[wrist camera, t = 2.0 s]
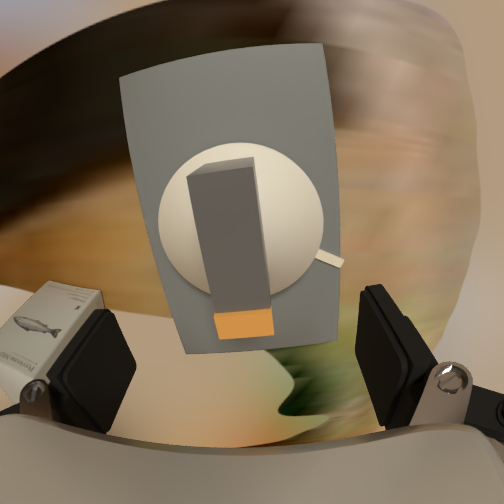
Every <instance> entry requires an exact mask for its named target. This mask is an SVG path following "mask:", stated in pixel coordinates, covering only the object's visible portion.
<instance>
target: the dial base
mask: <svg viewBox="0 0 504 504" xmlns="http://www.w3.org/2000/svg"><path fill="white" fill-rule="evenodd" d="M119 81H120V90H121V98H122V106H123V113H124V120H125V127H126V133H127V139H128V145H129V151H130V156H131V162H132V167H133V172H134V177H135V182H136V186H137V191H138V195H139V200H140V204H141V208H142V213H143V217H144V221H145V225H146V229H147V233H148V237H149V240H150V244H151V248H152V251H153V255H154V259H155V262H156V266H157V269H158V272H159V276H160V279H161V282H162V286H163V289H164V292H165V295H166V298H167V301H168V304H169V307H170V310H171V313H172V316H173V319H174V322H175V325H176V328H177V330H178V333H179V336H180V339H181V342H182V345H183V347H184V350H185V353H186V354H205V353H225V352H241V351H253V350H265V349H275V348H285V347H294V346H302V345H310V344H317V343H324V342H331V341H337V335H338V319H339V296H340V267H341V265H342V264H343V262H344V259H342V258H340V208H339V185H338V168H337V155H336V143H335V132H334V122H333V113H332V105H331V97H330V89H329V82H328V76H327V69H326V63H325V57H324V51H323V46H322V43H309V44H282V45H268V46H257V47H248V48H240V49H233V50H226V51H220V52H214V53H209V54H204V55H199V56H194V57H189V58H185V59H181V60H176V61H172V62H169V63H165V64H161V65H158V66H154V67H151V68H147V69H144V70H141V71H138V72H135V73H131V74H129V75H126V76H123V77H120V78H119ZM238 142H242V143H253V144H259V145H263V146H266V147H269V148H272V149H274V150H276V151H278V152H280V153H282V154H283V155H285V156H286V157H288V158H289V159H291V160H292V161H293V162H294V163H295V164H296V165H298V166H299V167H300V168H301V169H302V170H303V171H304V173H305V174H306V175H307V176H308V178H309V179H310V180H311V182H312V184H313V185H314V187H315V189H316V191H317V194H318V196H319V198H320V202H321V206H322V210H323V219H324V222H323V235H322V240H321V244H320V247H319V250H318V252H317V254H316V256H315V259H314V260H313V262H312V263H311V265H310V266H309V268H308V269H307V270H306V271H305V273H304V274H303V275H302V276H301V277H300V278H299V279H298V280H296V281H295V282H294V283H293V284H291V285H290V286H288V287H287V288H285V289H283V290H281V291H280V292H277V293H275V294H272V295H271V307H272V316H273V325H274V335H269V336H259V337H248V338H235V339H220V340H219V336H218V332H217V328H216V324H215V321H214V314H215V310H214V306H213V302H212V298H211V294H209V293H207V292H204V291H202V290H201V289H199V288H197V287H195V286H194V285H192V284H191V283H190V282H188V281H187V280H186V279H185V278H184V277H183V276H182V275H181V274H180V273H179V272H178V271H177V270H176V269H175V267H174V266H173V265H172V263H171V262H170V260H169V259H168V257H167V255H166V253H165V251H164V248H163V245H162V242H161V239H160V234H159V226H158V215H159V207H160V203H161V199H162V196H163V193H164V191H165V188H166V187H167V185H168V183H169V181H170V179H171V178H172V177H173V176H174V174H175V173H176V172H177V170H178V169H179V168H180V167H181V166H182V165H183V164H185V163H186V162H187V161H188V160H190V159H191V158H192V157H194V156H195V155H197V154H199V153H201V152H203V151H205V150H207V149H210V148H213V147H215V146H218V145H223V144H228V143H238Z"/></svg>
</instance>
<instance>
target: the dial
mask: <svg viewBox="0 0 504 504" xmlns="http://www.w3.org/2000/svg"><path fill="white" fill-rule="evenodd" d="M323 222H324V219H323V210H322V206H321V202H320V198H319V196H318V194H317V191H316V189H315V187H314V185H313V184H312V182H311V180H310V179H309V178H308V176H307V175H306V174H305V173H304V171H303V170H302V169H301V168H300V167H299V166H298V165H296V164H295V163H294V162H293V161H292V160H291V159H289V158H288V157H286V156H285V155H283V154H282V153H280V152H278V151H276V150H274V149H272V148H269V147H266V146H263V145H259V144H253V143H242V142H238V143H228V144H223V145H218V146H215V147H213V148H210V149H207V150H205V151H203V152H201V153H199V154H197V155H195V156H194V157H192V158H191V159H190V160H188V161H187V162H186V163H185V164H183V165H182V166H181V167H180V168H179V169H178V170H177V172H176V173H175V174H174V176H173V177H172V178H171V179H170V181H169V183H168V185H167V187H166V188H165V191H164V193H163V196H162V199H161V203H160V207H159V215H158V226H159V234H160V239H161V242H162V245H163V248H164V251H165V253H166V255H167V257H168V259H169V260H170V262H171V263H172V265H173V266H174V267H175V269H176V270H177V271H178V272H179V273H180V274H181V275H182V276H183V277H184V278H185V279H186V280H187V281H188V282H190V283H191V284H192V285H194V286H195V287H197V288H199V289H201V290H202V291H204V292H207V293H209V294H211V298H212V302H213V306H214V310H215V314H214V321H215V324H216V328H217V332H218V336H219V340H220V339H235V338H248V337H259V336H269V335H274V325H273V316H272V307H271V295H272V294H275V293H277V292H280V291H281V290H283V289H285V288H287V287H288V286H290V285H291V284H293V283H294V282H295V281H296V280H298V279H299V278H300V277H301V276H302V275H303V274H304V273H305V271H306V270H307V269H308V268H309V266H310V265H311V263H312V262H313V260H314V259H315V256H316V254H317V252H318V250H319V247H320V244H321V240H322V235H323Z"/></svg>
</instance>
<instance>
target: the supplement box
mask: <svg viewBox="0 0 504 504" xmlns="http://www.w3.org/2000/svg"><path fill="white" fill-rule="evenodd" d="M95 309H105V308H104V303H103V298H102V294H101V291H100V290H94V289H86V288H80V287H75V286H71V285H66V284H61V283H58V282H54V281H50V280H49V281H47V282H46V283H45V284H44V285H43V286H42V287H41V288H40V289H39V290H38V291H37V292H36V293H35V294H34V295H33V296H31V297H30V298H29V299H28V300H27V301H26V302H25V303H24V304H23V305H22V306H21V307H20V308H19V309H18V310H17V311H16V312H15V313H14V315H12V317H11V318H10V319H9V320H8V321H7V322H6V323H5V324H4V325H3V326H2V327H1V328H0V386H1V387H2V389H3V390H4V391H5V393H6V395H7V396H8V397H9V399H10V400H11V401H12V402H13V403H14V404H17V403H19V397H20V392H21V390H22V388H23V387H24V386H25V385H26V384H27V383H28V382H30V381H32V380H35V379H43V380H45V381H46V382H47V384H49V382H50V381H49V379H48V378H47V376H46V374H47V372H48V371H49V369H50V368H51V366H52V365H53V364H54V362H55V361H56V359H57V358H58V357H59V355H60V354H61V353H62V351H63V350H64V348H65V347H66V346H67V344H68V343H69V342H70V340H71V339H72V338H73V336H74V335H75V334H76V333H77V331H78V330H79V329H80V327H81V326H82V325H83V323H84V322H85V321H86V320H87V318H88V317H89V316H90V315H91V313H92V312H93V311H94V310H95Z"/></svg>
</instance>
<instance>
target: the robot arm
mask: <svg viewBox="0 0 504 504" xmlns="http://www.w3.org/2000/svg"><path fill="white" fill-rule="evenodd" d="M355 354H356V358H357V360H358V363H359V366H360V369H361V372H362V374H363V377H364V380H365V383H366V386H367V389H368V392H369V395H370V398H371V401H372V404H373V407H374V410H375V413H376V416H377V419H378V422H379V425H380V426H385V429H386V430H385V431H380V432H375V433H370V434H365V435H360V436H355V437H350V438H344V439H338V440H331V441H324V442H317V443H309V444H300V445H290V446H277V447H258V448H210V447H191V446H179V445H169V444H159V443H152V442H144V441H139V440H132V439H127V438H121V437H116V436H111V435H106V433H107V432H108V431H109V430H110V429H111V426H112V424H113V421H114V419H115V417H116V414H117V412H118V409H119V407H120V405H121V403H122V400H123V398H124V396H125V393H126V391H127V389H128V386H129V384H130V382H131V380H132V378H133V375H134V373H135V371H136V362H135V359H134V357H133V355H132V353H131V351H130V349H129V347H128V345H127V342H126V340H125V338H124V336H123V334H122V331H121V329H120V327H119V325H118V322H117V320H116V317H115V315H114V314H113V313H112V312H111V311H110V310H109V309H95V310H94V311H93V312H92V313H91V315H90V316H89V317H88V318H87V320H86V321H85V322H84V323H83V325H82V326H81V327H80V329H79V330H78V331H77V333H76V334H75V335H74V336H73V338H72V339H71V340H70V342H69V343H68V344H67V346H66V347H65V348H64V350H63V351H62V353H61V354H60V355H59V357H58V358H57V359H56V361H55V362H54V364H53V365H52V366H51V368H50V369H49V371H48V372H47V374H46V376H47V378H48V379H49V381H50V382H49V384H47V382H46V381H45V380H43V379H35V380H32V381H30V382H28V383H27V384H26V385H25V386H24V387H23V388H22V390H21V392H20V397H19V403H17V404H15V405H13V406H11V407H9V408H7V409H4V410H2V411H0V504H504V394H501V393H498V392H494V391H491V390H488V389H485V388H481V387H478V386H475V385H473V378H472V375H471V373H470V372H469V370H468V369H467V368H466V367H464V366H463V365H462V364H459V363H456V362H450V361H449V362H443V363H440V364H438V362H437V361H436V359H435V357H434V356H433V354H432V353H431V351H430V349H429V348H428V346H427V345H426V343H425V342H424V340H423V339H422V337H421V335H420V334H419V332H418V331H417V329H416V328H415V326H414V325H413V323H412V322H411V320H410V319H409V318H408V317H407V316H403V314H402V313H401V311H400V310H399V308H398V307H397V305H396V304H395V302H394V301H393V300H392V298H391V297H390V295H389V294H388V292H387V291H386V290H385V288H384V287H383V285H382V284H377V285H371V286H366V287H365V290H364V291H361V293H360V302H359V315H358V325H357V335H356V344H355Z"/></svg>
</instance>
